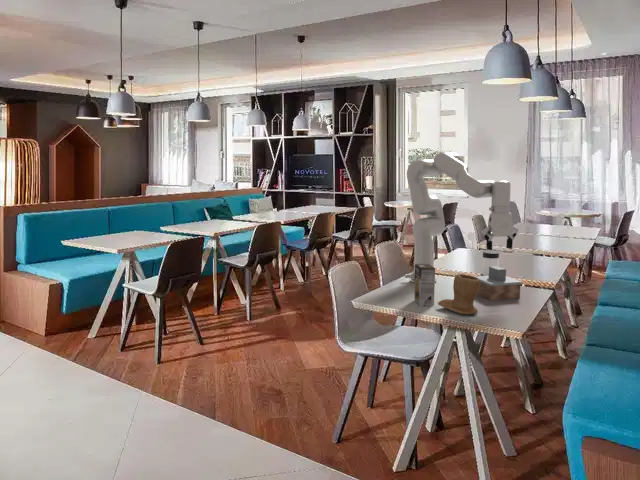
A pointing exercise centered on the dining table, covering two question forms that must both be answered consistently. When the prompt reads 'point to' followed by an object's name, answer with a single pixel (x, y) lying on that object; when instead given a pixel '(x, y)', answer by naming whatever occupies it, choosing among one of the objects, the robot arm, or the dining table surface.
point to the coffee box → (424, 284)
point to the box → (499, 291)
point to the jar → (489, 261)
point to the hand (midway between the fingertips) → (499, 249)
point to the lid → (497, 277)
